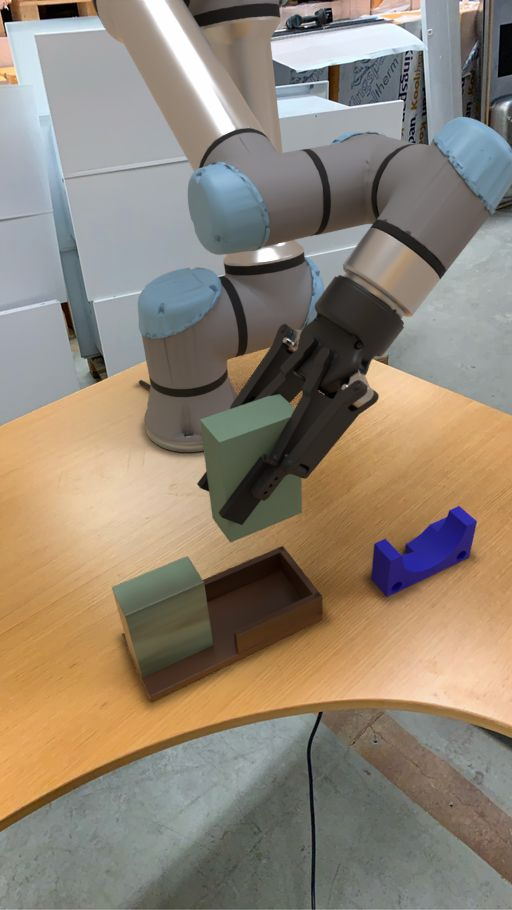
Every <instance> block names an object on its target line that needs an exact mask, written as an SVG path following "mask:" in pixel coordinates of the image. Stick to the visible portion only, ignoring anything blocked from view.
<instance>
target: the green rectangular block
mask: <svg viewBox="0 0 512 910" xmlns="http://www.w3.org/2000/svg"><path fill="white" fill-rule="evenodd" d="M295 408H296V407H294V405H292V403H291V402H290V403H289V402H288V401H287V400H286V399H284V398H283V397H282V396H281V395H280V394H277V395H272V396H268V397H265V398H262V399H259V400H256V401H253V402H250V403H247V404H244V405H241V406H238V407H235V408H232V409H229V410H226V411H223V412H220V413H217V414H214V415H211V416H209V417H206V418H203V419H200V425H201V433H202V440H203V448H204V451H203V452H204V453H203V455H204V463H205V470H206V471H207V479H208V487H209V492H208V493H209V502H210V509H211V516H212V517H211V519H213V521H214V523H215V524H216V526H217V527H218V528H219V529H220V531H221V533H222V534H223V535H224V537H225V538H226V539H227V540H228V542H229V543H230V544H231V543H234V542H236V541H238V540H241V539H243V538H245V537H247V536H248V537H249V536H250V535H252V534H255V533H257V532H260V531H262V530H264V529H267V528H269V527H272V526H274V525H277V524H279V523H281V522H283V521H286V520H289V519H291V518H293V517H295V516H298V515H301V514H302V513H303V492H302V491H303V490H302V489H303V488H302V478H300V477H298V476H295V475H292V474H288V475H286V476H285V477H284V478H283V480H282V481H281V482H280V483H279V485H278V486H277V487H276V489H275V490H274V491H273V493H272V494H271V495H270V497H269V498H268V499H266V500H265V501H263V500H261V501H260V502H259V504H258V505H257V506H256V508H255V509H254V510H253V512H252V513H251V514H250V516H249V517H248V518H247V520H246V521H245V522H244V523H243V525H240V524H237V523H235V522H232V521H229V520H227V519H224V518H222V517H221V516H220V514H219V513H218V512H219V511H220V510H221V508H222V507H223V506H224V504H225V503H226V502H227V500H228V499H229V498H230V496H231V495H232V494H233V492H234V491H235V490H236V488H237V487H238V486H239V484H240V483H241V482H242V480H243V479H244V478H245V476H246V475H247V474H248V472H249V471H250V470H251V468H252V467H253V466H254V464H255V463H256V462H257V460H258V459H259V458H260V456H261V457H263V453H264V454H266V455H268V456H269V455H270V454H271V452H272V450H273V448H274V446H275V444H276V443H277V441H278V439H279V437H280V435H281V433H282V432H283V430H284V428H285V426H286V424H287V422H288V421H289V419H290V418H291V415H292V413H293V412H294V410H295ZM287 455H288V454H286V455H285V456H287ZM206 471H205V472H206Z"/></svg>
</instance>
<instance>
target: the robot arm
mask: <svg viewBox="0 0 512 910" xmlns="http://www.w3.org/2000/svg"><path fill="white" fill-rule="evenodd" d="M288 1H289V0H91V3H92V6H93V9H94V11H95V13H96V15H97V17H98V19H99V20H100V22H101V25H102V26H103V28H104V29H105V30H106V32H107V33H108V34H109V35H110V37H112V38H113V39H114V40H115V41H117V42H119V43H120V44H123V45H124V47H125V49H126V50H127V52H128V54H129V56H130V58H131V59H132V61H133V63H134V65H135V67H136V68H137V70H138V72H139V74H140V76H141V78H142V79H143V82H144V83H145V85H146V87H147V89H148V90H149V92H150V94H151V96H152V98H153V100H154V101H155V103H156V105H157V106H158V108H159V110H160V112H161V114H162V116H163V118H164V120H165V122H166V124H167V125H168V128H169V129H170V131H171V132H172V134H173V136H174V138H175V139H176V141H177V143H178V145H179V147H180V148H181V150H182V152H183V154H184V156H185V158H186V160H187V162H188V163H189V165H190V167H191V169H192V170H193V173H192V174H191V175H190V177H189V181H188V185H187V206H188V212H189V215H190V220H191V221H192V224H193V228H194V232H195V235H196V237H197V240H198V241H199V243H200V244H201V245H202V247H203V248H204V250H206V251H207V252H208V253H210V254H214V255H217V256H221V255H222V256H223V255H225V256H224V257H223V267H224V274H223V275H222V276H221V275H220V276H218V274H217V273H216V272H215V271H213V270H212V269H209V268H206V267H194V268H190V267H184V268H183V267H182V268H179V269H175V270H171V271H169V272H166V273H163V274H161V275H159V276H157V277H155V278H154V279H153V280H151V281H150V282H149V283H147V284H146V285H145V287H144V288H143V289H142V290H141V292H140V293H139V295H138V299H137V313H138V314H137V315H138V330H139V333H140V334H141V339H142V345H143V351H144V357H145V362H146V367H147V372H148V378H149V383H148V382H146V381H144V380H142V379H140V380H139V381H138V384H139V385H140V386H142V387H144V388H146V389H148V390H149V393H148V398H147V406H146V411H145V413H144V425H145V430H146V434H147V436H148V437H149V439H150V440H151V441H152V442H153V443H154V444H156V445H157V446H158V447H161V448H163V449H165V450H168V451H173V452H178V453H197V452H204V448H203V440H202V433H201V425H200V419H203V418H206V417H209V416H211V415H214V414H217V413H220V412H223V411H226V410H229V409H232V408H235V407H238V406H241V405H244V404H247V403H250V402H253V401H256V400H259V399H262V398H265V397H268V396H272V395H277V394H280V395H281V396H282V397H283V398H284V399H286V400H287V401H288V402H289V403H290V404H291V402H292V401H293V400H294V399H295V398H296V397H298V395H299V394H300V393H301V392H302V395H301V397H300V399H299V401H298V402H297V404H296V406H295V407H294V408H295V410H294V412H293V413H292V415H291V418H290V419H289V421H288V422H287V424H286V426H285V428H284V430H283V432H282V433H281V435H280V437H279V439H278V441H277V443H276V444H275V446H274V448H273V450H272V452H271V454H270V455H269V456H268V455H266V454H264V453H263V457H261V456H260V458H259V459H258V460H257V462H256V463H255V464H254V466H253V467H252V468H251V470H250V471H249V472H248V474H247V475H246V476H245V478H244V479H243V480H242V482H241V483H240V484H239V486H238V487H237V488H236V490H235V491H234V492H233V494H232V495H231V496H230V498H229V499H228V500H227V502H226V503H225V504H224V506H223V507H222V508H221V510H220V511H219V512H218V513H219V514H220V516H221V517H222V518H224V519H227V520H229V521H232V522H235V523H237V524H240V525H243V523H244V522H245V521H246V520H247V518H248V517H249V516H250V514H251V513H252V512H253V510H254V509H255V508H256V506H257V505H258V504H259V502H260V501H261V500H263V501H265V500H266V499H268V498H269V497H270V495H271V494H272V493H273V491H274V490H275V489H276V487H277V486H278V485H279V483H280V482H281V481H282V480H283V478H284V477H285V476H286V475H288V474H292V475H295V476H298V477H300V478H301V480H302V479H303V480H305V479H307V478H309V477H310V476H311V474H312V473H313V472H314V471H315V470H316V468H317V467H318V466H319V465H320V463H321V462H322V461H323V460H324V458H325V457H326V456H327V455H328V454H329V453H330V451H331V450H332V449H333V447H334V446H335V445H336V444H337V442H338V441H340V438H342V436H343V435H344V434H345V432H346V431H347V430H348V429H349V428H350V426H351V425H352V424H353V423H354V422H355V420H356V419H357V418H358V417H359V416H360V415H361V414H362V413H364V412H365V411H367V410H368V409H369V408H370V407H372V406H373V405H375V404H376V403H378V400H379V393H378V392H377V391H376V390H374V389H373V388H372V387H371V386H370V384H369V382H368V379H367V377H366V375H367V374H368V372H369V370H370V365H371V363H372V361H373V360H374V358H375V357H382V356H384V355H385V354H386V352H387V351H388V349H389V348H390V347H391V346H392V345H393V343H394V342H395V341H396V339H397V338H398V336H399V335H400V334H401V332H402V331H403V330H404V328H405V326H404V325H405V322H404V321H403V318H404V317H406V318H410V317H413V316H414V315H415V313H416V312H417V311H418V310H419V308H420V307H421V305H422V304H423V303H424V301H425V300H426V299H427V297H428V296H429V295H430V294H431V292H432V291H433V289H434V288H435V287H436V286H437V285H438V283H439V282H440V281H441V279H442V278H443V276H444V275H445V274H446V273H447V271H448V270H449V269H450V268H451V266H452V265H453V264H454V262H455V261H456V260H457V258H458V257H459V256H460V255H461V253H462V252H463V251H464V250H465V248H466V247H467V246H468V244H469V243H470V242H471V241H472V239H473V238H474V236H476V234H477V233H478V232H479V230H480V229H481V228H482V227H483V225H484V223H486V221H488V219H489V218H490V216H493V215H494V213H496V209H497V207H498V206H499V205H500V202H502V200H503V198H504V196H505V195H506V194H507V193H508V190H509V189H510V188H511V186H512V148H511V146H510V144H509V142H507V141H506V139H505V138H504V137H502V135H500V133H498V131H495V130H494V129H493V128H492V127H490V126H488V125H487V124H486V123H483V122H481V121H480V120H477V119H475V118H471V117H467V116H457V117H455V118H454V119H451V120H449V121H447V122H446V124H445V125H444V126H443V127H442V128H441V129H440V130H439V132H437V133H435V135H434V136H433V137H432V141H431V142H430V143H429V144H423V143H415V142H411V141H407V140H403V139H397V138H394V137H389V136H387V135H386V134H383V133H381V134H380V133H379V132H376V131H370V130H369V131H364V132H363V131H349V132H346V133H343V134H341V135H339V136H338V137H337V138H334V140H333V141H332V142H331V143H330V144H326V145H321V146H316V147H311V148H303V149H298V150H290V151H286V152H283V144H282V143H283V142H282V136H281V135H282V133H281V126H280V117H279V116H280V115H279V106H278V99H277V98H278V97H277V89H276V87H277V86H276V80H275V78H276V77H275V71H274V70H275V69H274V61H273V51H272V41H271V40H272V38H273V35H274V34H275V32H276V30H277V29H278V27H279V25H280V24H281V22H282V19H281V10H280V9H281V8H282V7H283V6H285V5H286V4H287V3H288ZM365 225H371V226H370V227H369V229H368V230H367V231H366V232H365V234H364V235H363V237H362V238H361V240H360V241H359V242H358V243H357V245H356V246H355V247H354V249H353V250H352V251H351V253H350V254H349V255H348V257H347V258H346V260H345V261H344V262H343V263H342V269H343V271H344V272H345V273H344V275H342V274H338V276H334V277H333V278H332V280H331V281H330V283H329V284H328V285H327V286H326V288H325V284H324V280H323V277H322V276H320V273H321V270H320V268H319V267H318V265H317V264H316V262H315V261H314V260H313V259H312V258H309V257H307V256H305V248H304V246H302V244H300V243H298V242H297V241H296V240H300V239H305V238H309V237H313V236H319V235H324V234H330V233H333V232H338V231H343V230H347V229H350V228H355V227H360V226H365ZM263 350H268V351H267V352H266V353H265V355H264V356H263V358H262V359H261V361H260V362H259V364H258V365H257V366H256V368H255V369H254V371H253V372H252V374H251V375H250V377H249V378H248V379H247V381H246V383H245V384H244V385H243V387H242V388H241V390H240V391H239V393H238V394H237V392H236V390H235V388H234V385H233V383H232V381H231V379H230V377H229V372H228V371H229V370H228V360H232V359H235V358H238V357H242V356H247V355H250V354H253V353H256V352H261V351H263ZM286 454H288V455H287V456H285V455H286ZM196 484H197V486H198V487H199V489H201V490H204V491H206V492H208V493H209V487H208V479H207V471H205V472H204V474H203V475H202V476H201V478H200V479H199V480H198V481H197V483H196Z"/></svg>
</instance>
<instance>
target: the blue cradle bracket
mask: <svg viewBox="0 0 512 910" xmlns="http://www.w3.org/2000/svg"><path fill="white" fill-rule="evenodd" d="M477 523H478V520H476V519H475V517H473V516H472V515H470V513H468V512H467V511H466V510H465V509H464V508H462V507H461V506H460V505H457V506H455V507H453V508H451V509H448V512H447V515H446V517H443V518H441V519H439V520H436V521H434V522H432V523H430V524H429V525H428V526H427V527H426V528H425V529H424V530H423V531H422V532H421V533H420V534H418V536H416V537H415V538H413V539H411V540H410V541H408V542H406V543H405V548H404V553H405V554H401V553H400V552H399V551H398V550H397V549H396V548H395V547H394V546H393V544H391V542H389V540H388V539H386V538H384V539H383V538H382V539H381V540H379V541H377V542H375V543H374V544H373V553H372V562H371V563H372V565H371V574H370V575H371V576H370V581H372V583H373V584H374V585H375V586H376V587H377V588H378V590H379V591H380V592H381V593H382V594H383V595H384V596H385V598H388V597H391V596H393V595H394V594H396V593H397V594H398V593H399V592H400V591H403V590H405V589H407V588H410V587H411V586H413V585H415V584H418V583H419V582H421V581H422V582H423V581H424V580H427V579H428V578H430V577H432V576H434V575H436V574H438V573H440V572H442V571H445V570H447V569H448V568H451V567H452V566H455V565H458V564H459V563H461V562H463V561H465V560H467V559H469V558H470V555H471V551H472V547H473V541H474V537H475V533H476V528H477Z"/></svg>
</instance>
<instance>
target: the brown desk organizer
mask: <svg viewBox="0 0 512 910" xmlns="http://www.w3.org/2000/svg"><path fill="white" fill-rule="evenodd" d="M111 590H112V594H113V598H114V601H115V604H116V609H117V612H118V616H119V618H120V623H121V626H122V630H123V633H121V636H122V640H123V642H124V644H125V647H126V649H127V651H128V654H129V656H130V658H131V660H132V663H133V665H134V668H135V670H136V672H137V674H138V677H139V679H140V680H141V684H142V685H143V687H144V690H145V692H146V695H147V697H148V699H149V702H151V703H153V702H155V701H157V700H159V699H161V698H163V697H165V696H168V695H170V694H171V693H174V692H175V691H178V690H180V689H182V688H185V687H186V686H188V685H190V684H192V683H194V682H196V681H199V680H200V679H202V678H205V677H206V676H209V675H211V674H212V673H215V672H217V671H219V670H222V669H224V668H225V667H228V666H229V665H232V664H234V663H236V662H238V661H240V660H242V659H244V658H247V657H248V656H250V655H252V654H255V653H257V652H258V651H260V650H262V649H265V648H267V647H269V646H271V645H272V644H275V643H277V642H279V641H281V640H283V639H285V638H288V637H290V636H291V635H293V634H296V633H298V632H299V631H302V630H304V629H307V628H308V627H311V626H312V625H314V624H316V623H319V622H321V621H322V620H323V605H324V603H323V598H324V597H323V594H322V593H321V592H320V591H319V590H318V588H317V587H316V586H315V584H314V583H313V582H312V581H311V580H310V578H309V577H308V576H307V574H306V573H305V572H304V570H303V569H302V568H301V567H300V566H299V564H298V563H297V562H296V560H295V559H294V558H293V556H291V554H290V553H289V552H288V550H287V549H286V548H285V547H284V545H281V546H279V547H276V548H274V549H272V550H269V551H267V552H265V553H263V554H260V555H258V556H256V557H253V558H250V559H248V560H246V561H243V562H241V563H239V564H237V565H234V566H232V567H230V568H227V569H225V570H223V571H220V572H217V573H216V574H213V575H211V576H209V577H206V578H204V579H203V577H202V576H201V574H200V573H199V571H198V570H197V568H196V567H195V565H194V563H193V562H192V560H191V558H190V557H189V556H188V555H187V556H184V557H182V558H179V559H177V560H174V561H172V562H170V563H169V562H168V563H167V564H164V565H161V566H159V567H157V568H155V569H152V570H150V571H147V572H145V573H142V574H140V575H138V576H135V577H132V578H131V579H128V580H126V581H123V582H121V583H120V582H119V583H118V584H115V585H113V586H111Z"/></svg>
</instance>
